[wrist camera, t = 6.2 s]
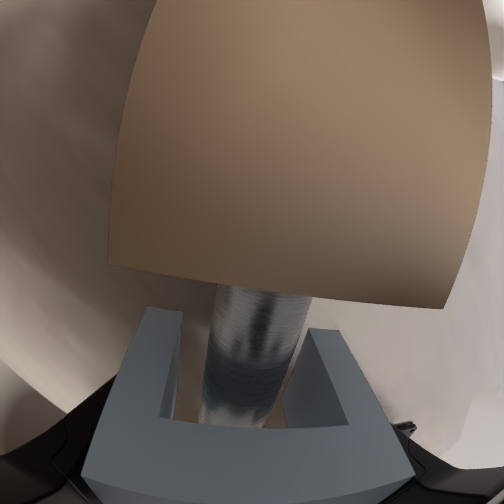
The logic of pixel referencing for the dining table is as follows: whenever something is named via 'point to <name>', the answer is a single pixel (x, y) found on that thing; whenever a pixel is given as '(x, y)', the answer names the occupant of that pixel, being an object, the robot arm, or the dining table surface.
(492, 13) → the rabbit figurine
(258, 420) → the shaft
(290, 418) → the spacer
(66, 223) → the dining table surface
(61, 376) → the dining table surface
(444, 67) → the block
